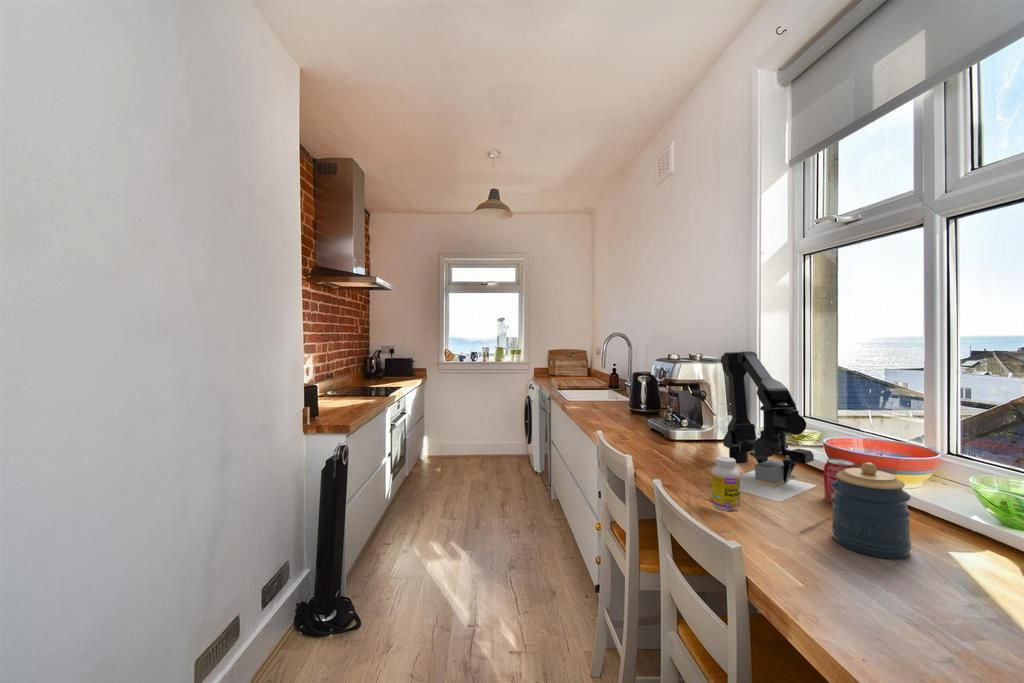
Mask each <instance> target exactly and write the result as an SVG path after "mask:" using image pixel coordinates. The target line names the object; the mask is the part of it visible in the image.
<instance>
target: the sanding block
mask: <svg viewBox="0 0 1024 683" xmlns="http://www.w3.org/2000/svg"><path fill="white" fill-rule="evenodd" d="M754 470H755V482H758V483H762V484H766V485H770V486H773V487H775V486H778V485H780V484H782V483H785V482H784V464H783V461H780V460H775V459H771V458H770V459H768V460H767V461H765V462H762V463H759V464H758V463H757V464H754ZM789 480H790V477H789V479H788V481H789Z"/></svg>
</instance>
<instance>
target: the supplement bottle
mask: <svg viewBox="0 0 1024 683" xmlns="http://www.w3.org/2000/svg"><path fill="white" fill-rule="evenodd" d="M715 463H716V466H714V467H713V468H712V469H711V491H712V492H711V493H712V494H711V497H712V500H711V502H712V503H711V504H712V506H713V507H714V508H715V509H717V510H720V511H722V512H730V513H731V512H732V513H733V512H738V509H734V508H735V507H739V506H740V505H741V491H740V475H741V473H740V471H739V470H738V469H737V468H736V465H737V463H736V460H735V459H733V458H730V457H729V456H717V457H716V458H715Z"/></svg>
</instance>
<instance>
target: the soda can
mask: <svg viewBox="0 0 1024 683" xmlns="http://www.w3.org/2000/svg"><path fill="white" fill-rule="evenodd" d="M847 468H856V466H855V462H853V461H851V460H848V459H843V458H827V459H826V463H825V464H824V467H823V488H824V489H823V493H824V495H823V497H824V501H825V502H827V503H829V504H832V505H833V502H832V498H833V497H834V493H835V490H834V489H833V488H832V486H831V484H832V483H833V482H834V481H837V480H838V478H837V477H836V473H838V472H840V471H843V470H845V469H847Z"/></svg>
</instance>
